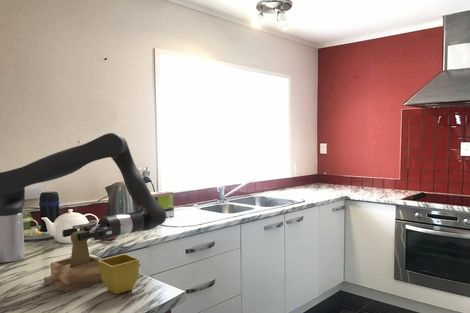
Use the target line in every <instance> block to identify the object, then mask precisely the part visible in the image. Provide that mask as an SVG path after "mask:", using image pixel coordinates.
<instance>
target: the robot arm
mask: <svg viewBox="0 0 470 313" xmlns="http://www.w3.org/2000/svg"><path fill="white" fill-rule="evenodd" d="M107 158H111V159H112V161H113V162H114V163H115V165H116V166H117V168H118V169H119V172H120V173H121V176H122V178H123V181H124V185H125V188H126V190H127V192H128V194H129V196H130V198H131V200H132V202H133V203H134V205H135V206H136V207H137V208H140V207H144V208H145V209H146V210H147V211H146V212H144V211H143V212H137V211H134V212H132V211H131V212H127V213H118V214H114V215H113V214H112V215H108V216H102V217H100V218H99V220H98V222H97V224H96V223H95V222H93V223H89V222H88V223H83V224H82V223H81V224H78V225H77V224H75V225H73V226H72V228H66V229H63V230H62V237H63V238H68V237H71V234H72V233H73V232H76V231H86V232H83V233H78V234H77V235H76V239H77V241H82V240H86V239H88V240H96V241H97V240H100V239H102V238H103V240H106V239H107V240H108V239H110V240H111V238H115V237H117V238H118V237H123V236H126V235H128V234H132V233H135V232H136V233H137V232H144V231H150V230H154V229H155V228H157V227H159V226H160V225H163V224H164V223H165V222H166V220H167V217H166V212H165V210H164V208H163V207H162V206H161V204H160V203H159V202H158V201H157V200H156V199H155V198H154V197H153V196H152V195H151V191H150V189H149V188H148V186H147V184H146V182H145V180H144V179H143V177H142V175H141V174H140V171H139V170H138V168H137V165H136V163H135V162H134V159H133V157H132V153H131V150H130V148H129V145H128V142H127V140H126V139H125V137H123V135H120V134H118V133H115V132H109V133H105V134H103V135H100V136H98V137H97V138H94V139H92V140H90V141H88V142H85V143H84V144H80V145H76V146H72V147H70V148H67V149H64V150H60V151H57V152H54V153H52V154H48V155H46V156H44V157H42V158H40V159H36V160H35V161H32V162H30V163H28V164H26V165H24V166H21V167H17V168H14V169H9V170H6V171H1V172H0V263H10V262H16V261H20V260H22V259H24V258H25V237H24V236H25V234H24V211H23V210H24V206H25V199H26V197H25V196H26V195H25V193H26V192H25V191H26V190H25V189H26V187H30V186H31V185H35V184H40V183H45V182H49V181H54V180H57V179H60V178H62V177H65V176H68V175H71V174H73V173H75V172H77V171H79V170H80V169H82V168H83V167H85V166H87V165H88V164H90V163H93V162H95V161H99V160H103V159H107ZM144 208H143V209H144ZM115 239H116V238H115ZM107 240H106V241H107Z"/></svg>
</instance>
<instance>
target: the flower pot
mask: <svg viewBox="0 0 470 313" xmlns="http://www.w3.org/2000/svg"><path fill="white" fill-rule="evenodd" d="M98 262H99V268H100V273H101V278H102V281H101V282H102V283H103V285H104V286H105V288H106V289H107V290H108V291H109V292H111V293H113V294H115V295H118V294H121V293H125V292H128V291H131V290H133V288H134V287H135V284H136V282H137V280H138V277H139V270H140V269H139V267H140V259H139V258H137V257H135V256H131V255H129V254H126V253H124V254H123V253H122V254H119V255H116V256H115V255H114V256H111V257H108V258H103V259H102V258H101V260H99V261H98Z"/></svg>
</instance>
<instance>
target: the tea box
mask: <svg viewBox="0 0 470 313" xmlns="http://www.w3.org/2000/svg"><path fill="white" fill-rule="evenodd" d="M150 193H151V195H152V196H153V197H154V198H155V199H156V200H157V201H158V202H159V203H160V204H161V206H162V207H163V208H164V210H165V212H166V218H169V217H174V216H175V209H174V192H173V191H168V190H160V191H153V192H151V191H150ZM146 211H147V210H146V209H145V210H144V209H143V213H144V212H146Z"/></svg>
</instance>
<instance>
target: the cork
mask: <svg viewBox="0 0 470 313" xmlns="http://www.w3.org/2000/svg"><path fill="white" fill-rule="evenodd" d="M83 232H86V231H79V230H78V231H76V232H73V233H72V234H71V236H70V241H71V243H72V248H71V257H70V258H71V265H70V268H72V267H76V266H79V265H83V264H86V263H90V256H91V255H90V252H89V246H88V240H89V239H86V240H82V241H77V239H76V235H77V234H78V233H83Z"/></svg>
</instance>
